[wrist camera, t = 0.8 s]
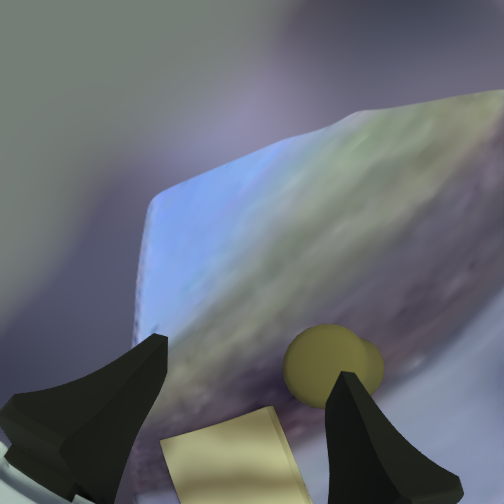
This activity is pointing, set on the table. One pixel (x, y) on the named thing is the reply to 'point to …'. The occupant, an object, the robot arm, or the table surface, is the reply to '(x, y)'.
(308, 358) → the cork
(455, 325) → the table surface
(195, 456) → the birch base board
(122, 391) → the robot arm
